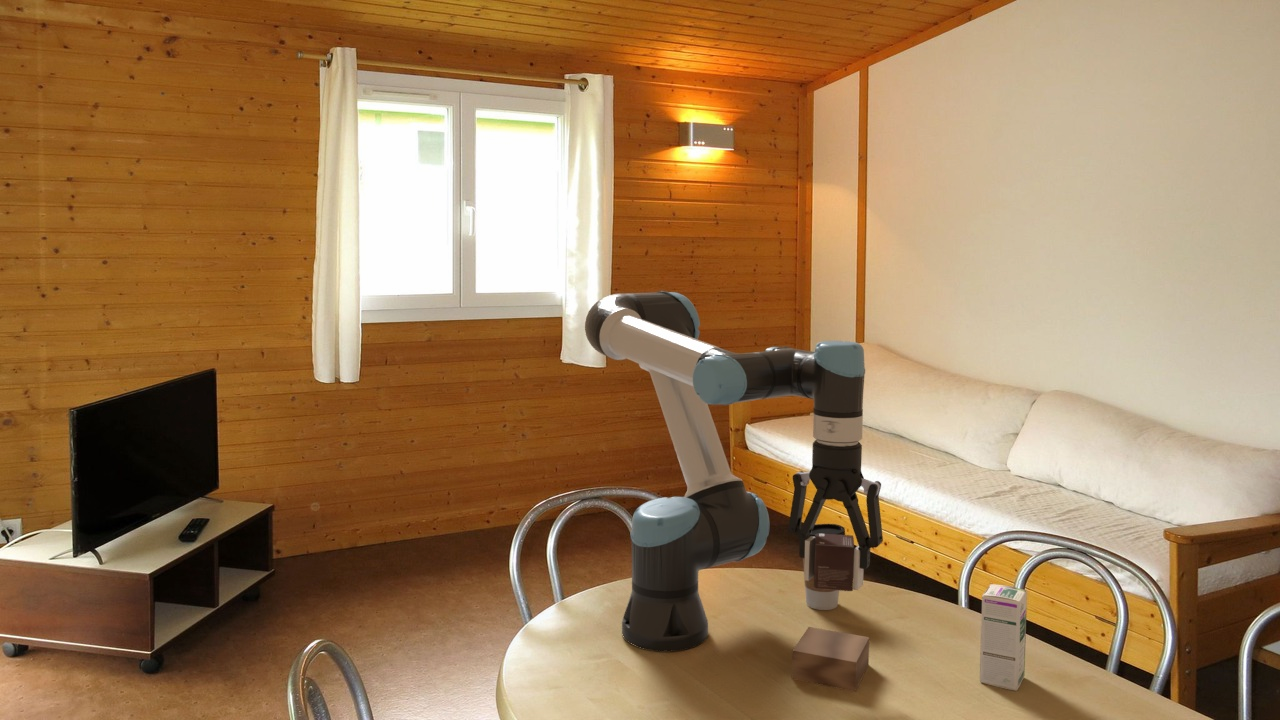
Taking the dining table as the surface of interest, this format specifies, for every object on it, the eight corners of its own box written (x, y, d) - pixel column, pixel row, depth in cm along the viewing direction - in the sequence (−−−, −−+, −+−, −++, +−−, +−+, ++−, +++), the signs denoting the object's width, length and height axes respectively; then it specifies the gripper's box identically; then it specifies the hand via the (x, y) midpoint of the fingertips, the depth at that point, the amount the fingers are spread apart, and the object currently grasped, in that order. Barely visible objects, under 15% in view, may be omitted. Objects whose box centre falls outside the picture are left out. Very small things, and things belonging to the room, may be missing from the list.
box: (852, 592, 144) (854, 547, 143) (813, 589, 145) (814, 544, 144) (852, 579, 150) (853, 534, 149) (814, 576, 151) (815, 532, 150)
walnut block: (791, 680, 147) (792, 650, 146) (808, 655, 156) (808, 626, 155) (855, 693, 142) (856, 662, 142) (868, 666, 151) (869, 637, 151)
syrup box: (1017, 692, 142) (1022, 601, 140) (977, 682, 145) (981, 593, 143) (1024, 677, 147) (1029, 589, 145) (985, 668, 150) (989, 582, 148)
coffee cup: (848, 613, 172) (850, 534, 171) (803, 612, 173) (804, 534, 171) (839, 595, 181) (841, 521, 179) (796, 595, 181) (797, 521, 179)
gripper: (767, 438, 146) (764, 578, 149) (895, 453, 136) (890, 602, 139) (785, 429, 153) (782, 564, 156) (908, 443, 142) (903, 586, 145)
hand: (833, 582), depth 147 cm, fingers closed on box, 7 cm apart
